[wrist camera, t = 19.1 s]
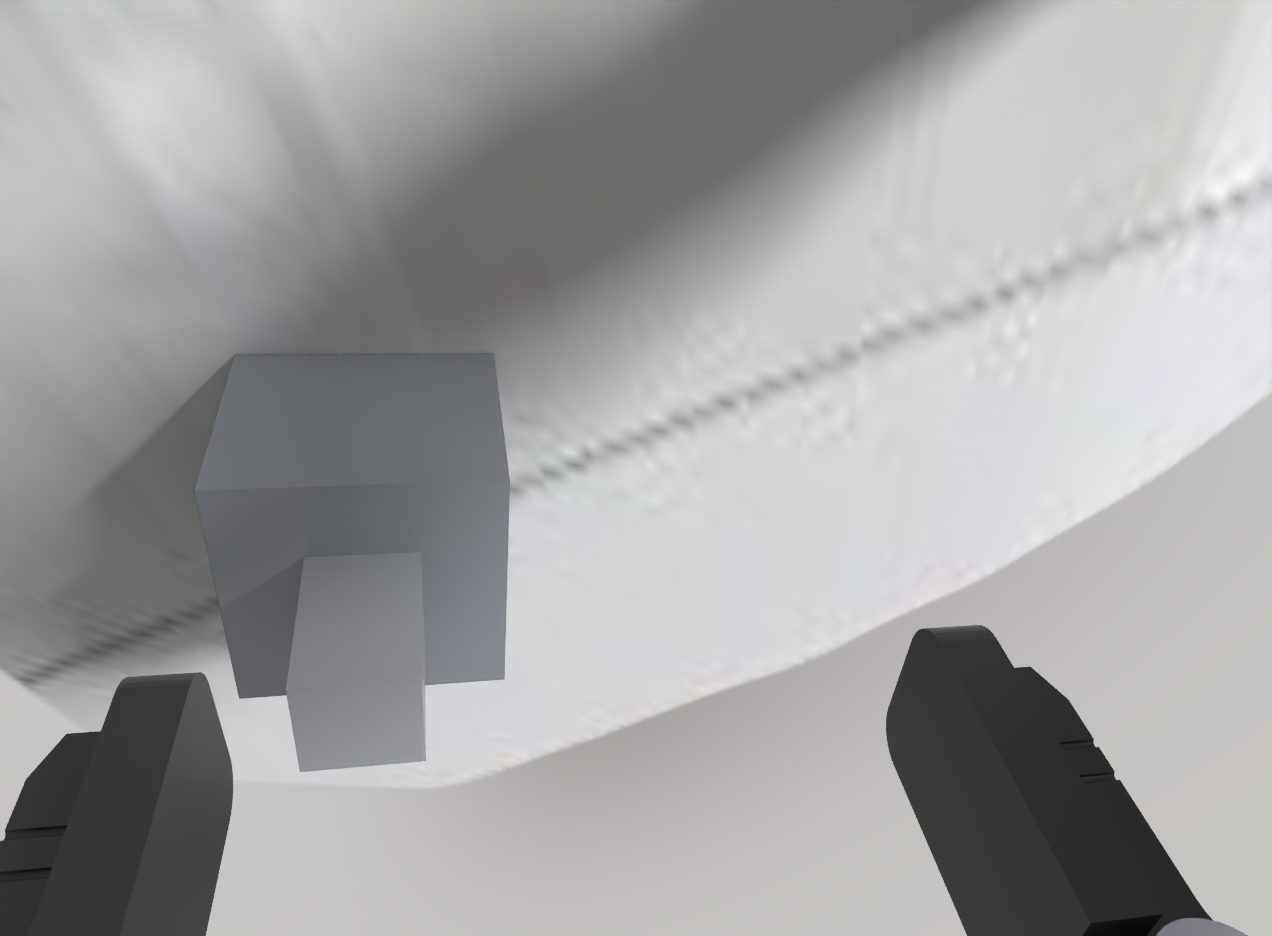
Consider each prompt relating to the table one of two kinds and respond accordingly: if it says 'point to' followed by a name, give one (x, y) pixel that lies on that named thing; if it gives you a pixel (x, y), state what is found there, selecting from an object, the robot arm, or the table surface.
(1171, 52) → the table surface
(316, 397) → the grey stepped block
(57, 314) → the table surface
